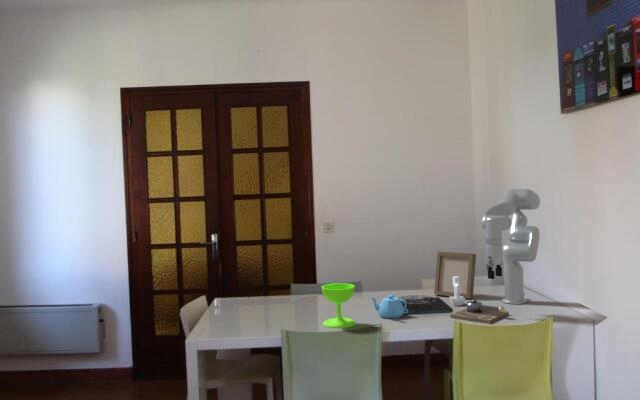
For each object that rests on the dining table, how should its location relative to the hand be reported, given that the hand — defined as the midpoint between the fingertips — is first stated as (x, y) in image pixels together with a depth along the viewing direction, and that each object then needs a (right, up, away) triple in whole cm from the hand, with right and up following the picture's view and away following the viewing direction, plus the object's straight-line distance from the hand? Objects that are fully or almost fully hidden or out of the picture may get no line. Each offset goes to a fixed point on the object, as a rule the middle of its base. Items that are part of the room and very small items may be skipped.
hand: (495, 277), depth 277 cm
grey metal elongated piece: (-5, -17, -3) cm, 18 cm away
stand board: (-9, -18, -4) cm, 21 cm away
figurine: (-13, -18, +23) cm, 32 cm away
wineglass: (-77, -21, -8) cm, 80 cm away
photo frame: (-7, -17, +45) cm, 49 cm away
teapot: (-52, -20, +4) cm, 56 cm away
